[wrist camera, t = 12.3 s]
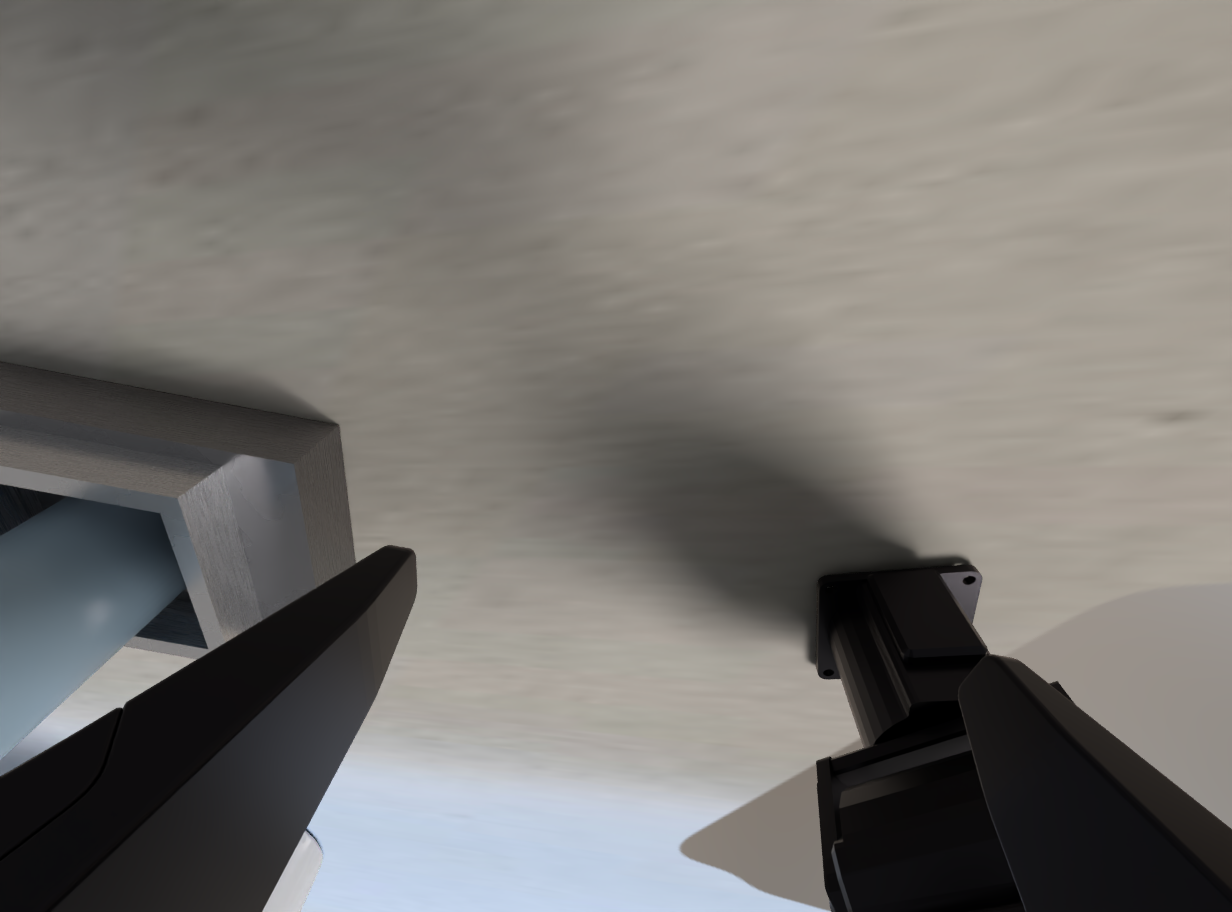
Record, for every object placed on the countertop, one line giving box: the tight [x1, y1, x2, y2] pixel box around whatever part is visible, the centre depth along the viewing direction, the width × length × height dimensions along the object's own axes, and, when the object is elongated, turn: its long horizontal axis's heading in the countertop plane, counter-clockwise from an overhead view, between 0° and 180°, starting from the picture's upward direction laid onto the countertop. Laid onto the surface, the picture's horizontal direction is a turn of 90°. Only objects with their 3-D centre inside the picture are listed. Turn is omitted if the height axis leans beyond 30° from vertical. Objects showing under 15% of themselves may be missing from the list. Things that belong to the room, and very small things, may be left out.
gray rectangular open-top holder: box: [0, 362, 356, 659], centre depth 21 cm, size 14×10×5 cm
